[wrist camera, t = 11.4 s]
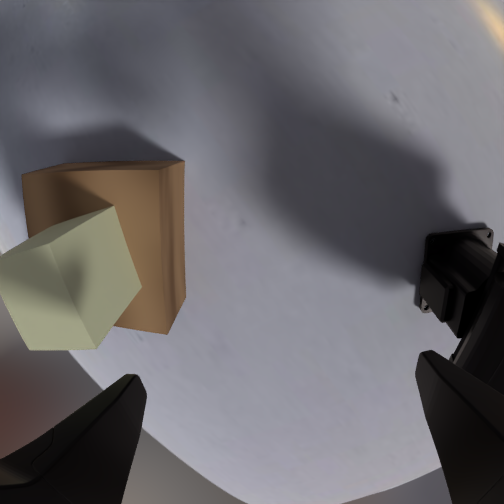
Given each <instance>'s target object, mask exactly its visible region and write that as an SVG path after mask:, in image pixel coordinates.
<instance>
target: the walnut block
mask: <svg viewBox="0 0 504 504" xmlns="http://www.w3.org/2000/svg"><path fill="white" fill-rule="evenodd" d="M184 166H185V161H106V162H83V163H66V164H60V165H56V166H52V167H48V168H44V169H40V170H36V171H33V172H29V173H26V174H22V188H23V199H24V208H25V216H26V224H27V230H28V237H29V238H31V237H33V236H35V235H36V234H38V233H40V232H42V231H44V230H45V229H47V228H49V227H51V226H53V225H56V224H59V223H62V222H64V221H67V220H70V219H73V218H76V217H80V216H83V215H86V214H89V213H92V212H95V211H98V210H101V209H105V208H108V207H111V206H114V207H115V210H116V213H117V216H118V220H119V223H120V226H121V229H122V232H123V235H124V238H125V241H126V244H127V247H128V250H129V253H130V256H131V258H132V261H133V264H134V267H135V270H136V272H137V275H138V278H139V280H140V283H141V286H142V288H141V289H140V290H139V292H138V293H137V294H136V296H135V297H134V298H133V300H132V301H131V302H130V304H129V305H128V306H127V308H126V309H125V310H124V312H123V313H122V314H121V316H120V317H119V318H118V320H117V321H116V323H115V324H114V325H113V326H117V327H122V328H128V329H134V330H140V331H146V332H153V333H159V334H166V335H168V333H169V330H170V328H171V326H172V324H173V322H174V320H175V318H176V316H177V314H178V312H179V310H180V308H181V306H182V304H183V302H184V300H185V298H186V284H185V250H184Z"/></svg>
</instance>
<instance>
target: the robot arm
mask: <svg viewBox="0 0 504 504" xmlns="http://www.w3.org/2000/svg"><path fill="white" fill-rule="evenodd" d="M488 233H489V234H488ZM487 234H488V236H487ZM493 235H494V233H493V230H492V229H490V228H478V229H468V230H459V231H449V232H440V233H431V234H429V235H428V236H427V237H426V242H425V258H424V263H423V264H422V271H421V281H420V291H419V294H420V295H421V298H420V306H419V307H420V310H421V311H422V312H423V313H429V312H433V313H434V314H435V315H436V317H437V318H438V319H439V321H440V322H442V323H444V322H446V323H447V325H448V326H449V327H450V329H451V330H452V332H453V333H454V334H455V336H456V337H457V338H462V339H461V341H460V342H459V344H458V346H457V348H456V350H455V352H454V354H452V355H451V357H450V358H449V360H447V359H446V358H444V357H443V356H441V355H440V354H438V353H436V352H435V351H433V350H428V351H424V352H421V353H420V354H419V358H418V362H417V367H416V371H415V377H416V381H417V385H418V389H419V393H420V397H421V401H422V405H423V410H424V414H425V417H426V421H427V424H428V426H429V429H430V432H431V435H432V438H433V441H434V444H435V447H436V450H437V453H438V456H439V459H440V462H441V466H442V469H443V472H444V476H445V479H446V482H447V486H448V489H449V493H450V497H451V500H452V504H504V244H503V243H499V245H498V248H497V252H498V253H496V252H495V251H493V250H492V244H493ZM433 238H434V242H433V243H431V240H432V239H433ZM426 305H427V307H425V306H426ZM424 307H425V308H424ZM146 400H147V393H146V390H145V388H144V386H143V384H142V381H141V379H140V377H139V376H138V375H136V374H126V375H124V376H123V377H121V378H120V379H119V380H117V381H116V382H115V383H113V384H112V385H111V386H109V387H108V388H106V389H105V390H104V391H102V392H101V393H100V394H98V395H97V396H96V397H94V398H93V399H92V400H90V401H89V402H87V403H86V404H85V405H83V406H82V407H80V408H79V409H78V410H76V411H75V412H74V413H72V414H71V415H69V416H68V417H67V418H65V419H64V420H62V421H61V422H60V423H59V424H57V425H56V426H54V428H51V429H50V430H48V431H47V432H46V433H44V434H43V435H41V436H40V437H38V438H37V439H35V440H34V441H32V442H30V443H29V444H27V445H25V446H24V447H22V448H20V449H18V450H16V451H15V452H13V453H11V454H9V455H8V456H6V457H4V458H2V459H0V504H121V503H122V499H123V495H124V491H125V487H126V484H127V480H128V476H129V473H130V469H131V465H132V462H133V458H134V455H135V451H136V448H137V444H138V441H139V437H140V432H141V428H142V422H143V416H144V411H145V405H146Z"/></svg>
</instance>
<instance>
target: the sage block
mask: <svg viewBox="0 0 504 504" xmlns="http://www.w3.org/2000/svg"><path fill="white" fill-rule="evenodd" d="M141 288H142V286H141V283H140V280H139V278H138V275H137V272H136V270H135V267H134V264H133V261H132V258H131V256H130V253H129V250H128V247H127V244H126V241H125V238H124V235H123V232H122V229H121V226H120V223H119V220H118V216H117V213H116V210H115V207H114V206H111V207H108V208H105V209H101V210H98V211H95V212H92V213H89V214H86V215H83V216H80V217H76V218H73V219H70V220H67V221H64V222H62V223H59V224H56V225H53V226H51V227H49V228H47V229H45V230H44V231H42V232H40V233H38V234H36V235H35V236H33V237H31V238H29V239H28V240H26V241H24V242H23V243H21V244H19V245H17V246H16V247H14V248H12V249H11V250H9V251H7V252H6V253H4V254H3V255H1V256H0V294H1V296H2V298H3V301H4V303H5V305H6V307H7V309H8V311H9V313H10V315H11V317H12V319H13V321H14V323H15V325H16V327H17V329H18V330H19V332H20V334H21V336H22V338H23V340H24V341H25V343H26V345H27V347H28V348H29V350H86V349H97V348H98V346H99V345H100V343H101V342H102V341H103V339H104V338H105V336H106V335H107V334H108V332H109V331H110V329H111V328H112V327H113V325H114V324H115V323H116V321H117V320H118V318H119V317H120V316H121V314H122V313H123V312H124V310H125V309H126V308H127V306H128V305H129V304H130V302H131V301H132V300H133V298H134V297H135V296H136V294H137V293H138V292H139V290H140V289H141Z"/></svg>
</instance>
